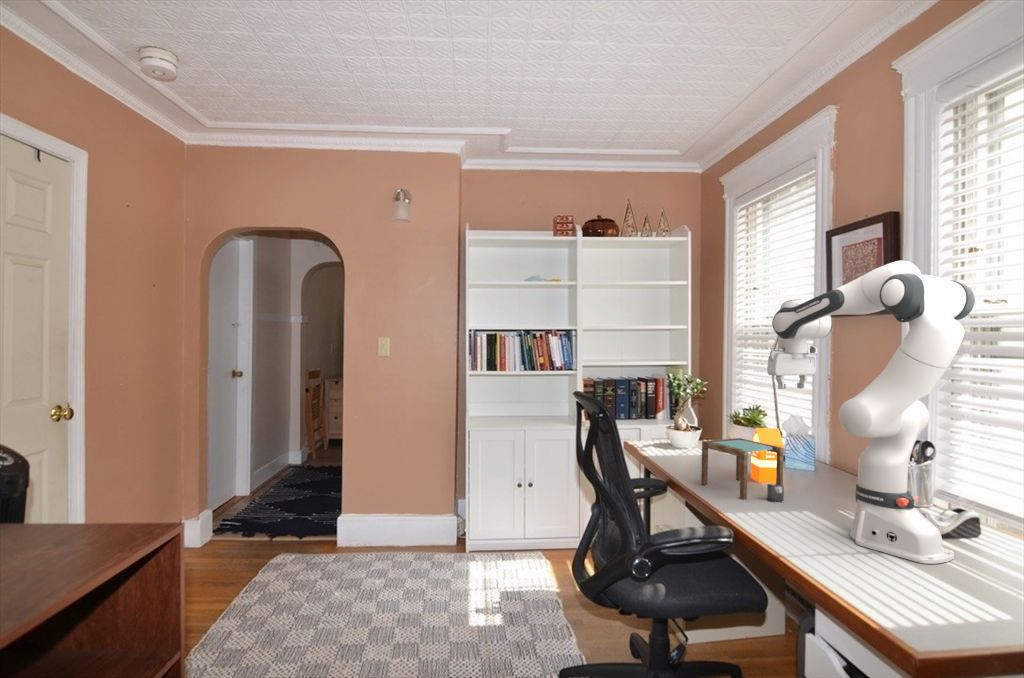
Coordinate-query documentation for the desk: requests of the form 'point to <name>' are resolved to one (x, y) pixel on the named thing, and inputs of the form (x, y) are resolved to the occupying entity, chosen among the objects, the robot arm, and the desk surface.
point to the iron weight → (775, 492)
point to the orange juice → (765, 455)
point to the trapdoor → (744, 445)
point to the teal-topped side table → (739, 462)
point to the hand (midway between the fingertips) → (791, 388)
